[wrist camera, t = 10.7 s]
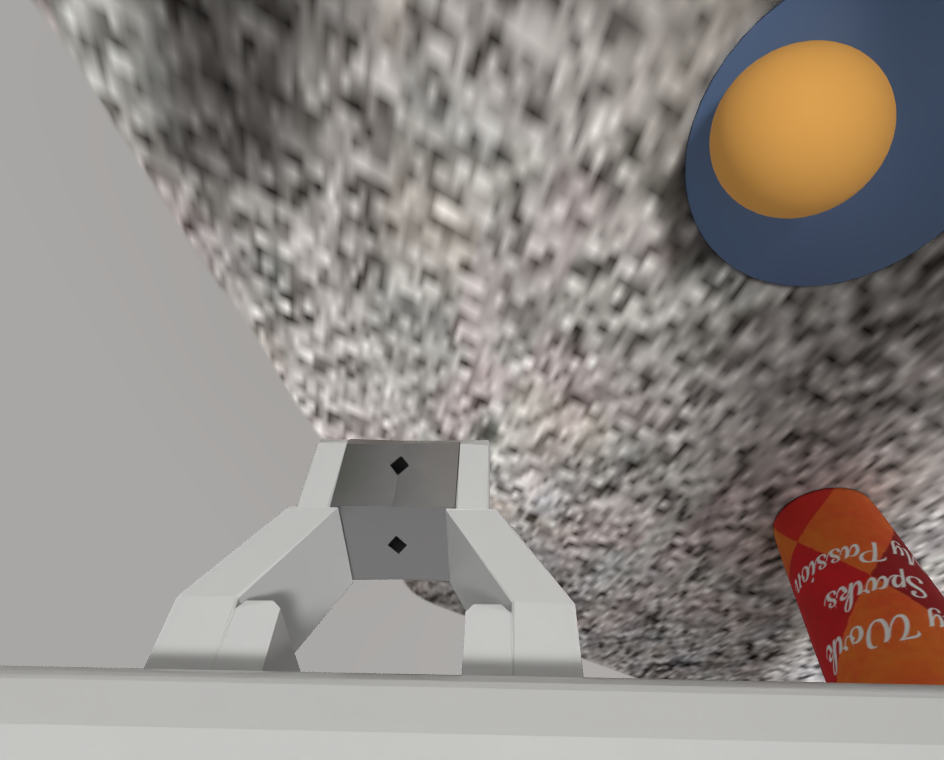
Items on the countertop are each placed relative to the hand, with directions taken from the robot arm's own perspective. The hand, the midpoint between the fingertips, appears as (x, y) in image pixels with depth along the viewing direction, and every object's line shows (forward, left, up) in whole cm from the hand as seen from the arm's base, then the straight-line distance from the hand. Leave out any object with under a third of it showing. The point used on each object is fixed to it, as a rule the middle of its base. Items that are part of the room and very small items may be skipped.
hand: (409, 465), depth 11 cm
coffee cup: (-22, +23, -19) cm, 37 cm away
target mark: (-16, 0, -19) cm, 25 cm away
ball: (-13, -1, -16) cm, 20 cm away
